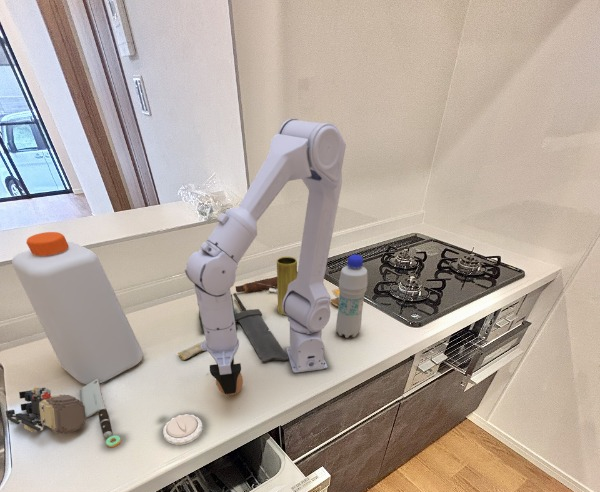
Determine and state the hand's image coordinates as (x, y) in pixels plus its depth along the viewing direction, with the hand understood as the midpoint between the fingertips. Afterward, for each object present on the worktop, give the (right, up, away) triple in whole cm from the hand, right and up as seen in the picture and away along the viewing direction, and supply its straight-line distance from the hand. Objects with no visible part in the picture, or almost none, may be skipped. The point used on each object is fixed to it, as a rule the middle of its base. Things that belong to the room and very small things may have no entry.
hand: (229, 380), depth 72 cm
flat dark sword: (+2, +15, +21) cm, 26 cm away
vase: (+11, +21, +28) cm, 37 cm away
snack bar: (-10, +8, +14) cm, 19 cm away
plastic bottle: (-31, +5, +10) cm, 33 cm away
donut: (-17, -11, -5) cm, 20 cm away
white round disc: (-8, -10, -5) cm, 13 cm away
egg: (0, -3, +3) cm, 4 cm away
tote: (-7, +17, +24) cm, 30 cm away
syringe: (+5, +29, +34) cm, 45 cm away
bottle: (+27, +13, +19) cm, 36 cm away
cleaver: (-28, -8, -3) cm, 30 cm away
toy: (-40, -4, -2) cm, 41 cm away
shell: (+25, +23, +28) cm, 44 cm away
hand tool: (+20, +35, +38) cm, 55 cm away
